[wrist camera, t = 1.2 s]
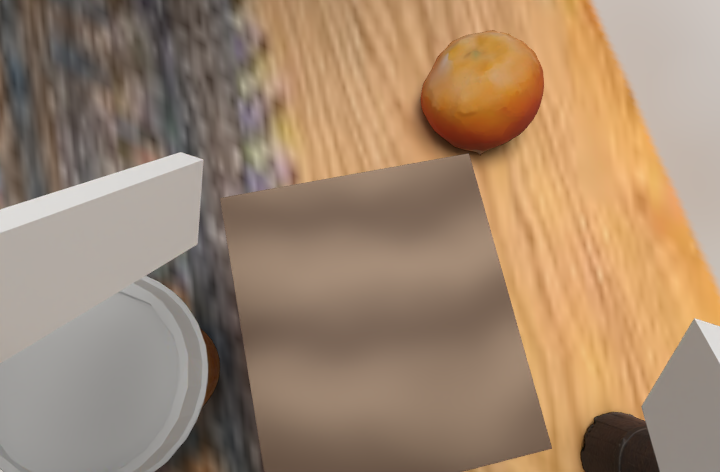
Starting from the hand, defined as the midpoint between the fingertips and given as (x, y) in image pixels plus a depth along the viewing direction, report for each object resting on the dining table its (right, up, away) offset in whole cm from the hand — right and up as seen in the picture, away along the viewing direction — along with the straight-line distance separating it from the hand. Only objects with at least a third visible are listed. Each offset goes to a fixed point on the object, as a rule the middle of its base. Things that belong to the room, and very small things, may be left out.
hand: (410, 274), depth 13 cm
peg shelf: (-1, -5, +20) cm, 21 cm away
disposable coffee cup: (-14, -8, +19) cm, 24 cm away
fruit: (+7, +10, +25) cm, 28 cm away
